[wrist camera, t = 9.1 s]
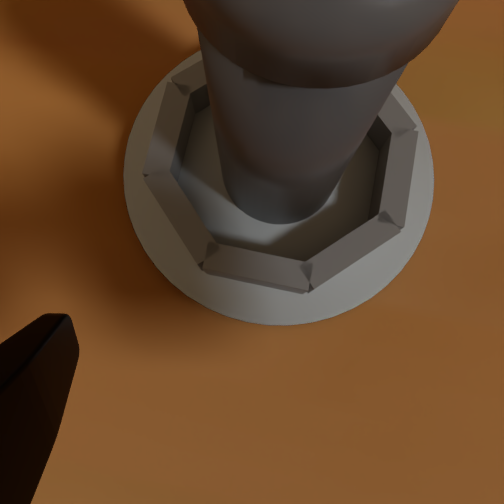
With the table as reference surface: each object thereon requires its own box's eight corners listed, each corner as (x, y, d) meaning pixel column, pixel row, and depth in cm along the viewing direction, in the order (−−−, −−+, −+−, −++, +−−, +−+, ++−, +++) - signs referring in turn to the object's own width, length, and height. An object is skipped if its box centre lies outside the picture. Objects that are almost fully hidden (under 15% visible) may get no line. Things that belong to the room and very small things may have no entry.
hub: (405, 356, 17) (428, 359, 15) (91, 288, 17) (68, 282, 15) (445, 69, 19) (470, 36, 17) (168, 16, 20) (159, -23, 17)
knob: (296, 253, 17) (411, 58, 5) (192, 183, 17) (67, -148, 5) (364, 154, 18) (605, -220, 6) (263, 90, 18) (290, -376, 6)
